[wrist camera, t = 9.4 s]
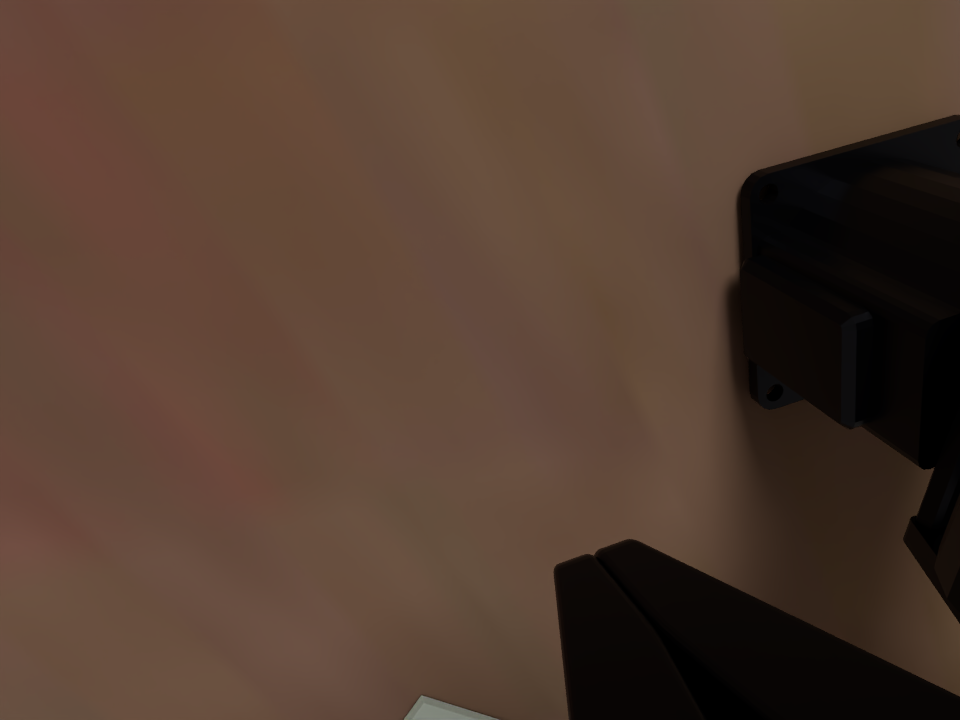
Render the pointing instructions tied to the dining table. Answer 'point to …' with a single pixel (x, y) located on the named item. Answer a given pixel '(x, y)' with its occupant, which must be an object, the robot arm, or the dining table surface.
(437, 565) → the dining table surface
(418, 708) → the mat
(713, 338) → the dining table surface
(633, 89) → the dining table surface
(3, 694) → the dining table surface
